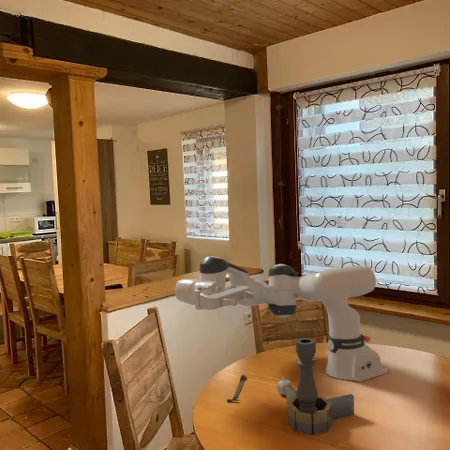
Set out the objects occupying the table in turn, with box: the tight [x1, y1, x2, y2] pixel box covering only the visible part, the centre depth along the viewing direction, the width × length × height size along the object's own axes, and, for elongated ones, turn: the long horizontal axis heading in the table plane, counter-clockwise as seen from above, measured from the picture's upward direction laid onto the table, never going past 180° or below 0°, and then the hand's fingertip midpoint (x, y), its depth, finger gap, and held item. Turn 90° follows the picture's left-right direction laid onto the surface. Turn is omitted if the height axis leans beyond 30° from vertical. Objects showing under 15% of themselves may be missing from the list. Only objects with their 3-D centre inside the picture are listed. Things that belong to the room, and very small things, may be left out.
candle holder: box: [295, 337, 319, 412], centre depth 135 cm, size 6×6×25 cm
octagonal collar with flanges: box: [285, 384, 355, 436], centre depth 142 cm, size 20×20×6 cm
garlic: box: [276, 377, 294, 396], centre depth 157 cm, size 6×5×5 cm
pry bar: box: [226, 374, 247, 404], centre depth 162 cm, size 21×7×1 cm, turn 165°
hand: (245, 299), depth 149 cm, fingers open, 8 cm apart
